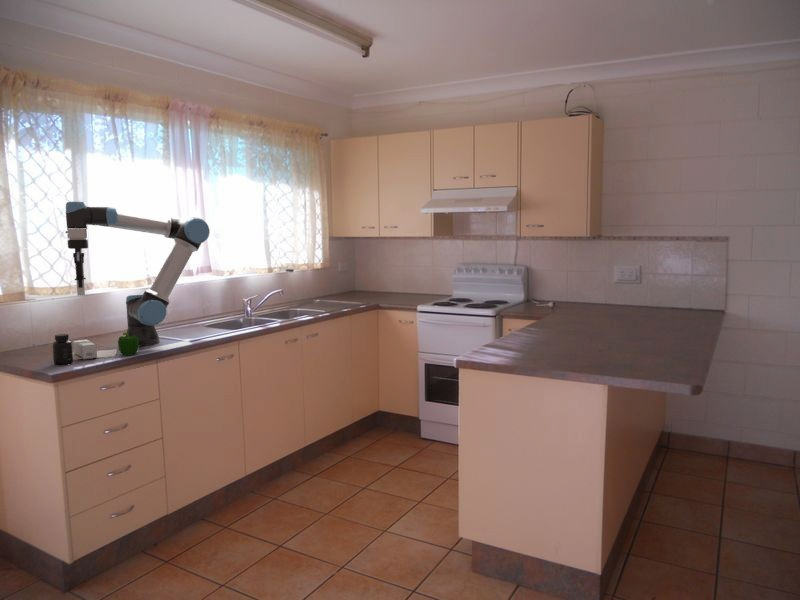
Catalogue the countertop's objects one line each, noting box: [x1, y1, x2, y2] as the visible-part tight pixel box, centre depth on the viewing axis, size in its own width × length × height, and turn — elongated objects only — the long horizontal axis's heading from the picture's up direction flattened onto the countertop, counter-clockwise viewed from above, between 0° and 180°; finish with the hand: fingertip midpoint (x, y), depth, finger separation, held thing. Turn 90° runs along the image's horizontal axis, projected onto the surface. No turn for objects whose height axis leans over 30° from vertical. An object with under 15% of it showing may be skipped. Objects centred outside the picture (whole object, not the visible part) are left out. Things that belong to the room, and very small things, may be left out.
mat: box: [73, 349, 118, 361], centre depth 258 cm, size 18×15×1 cm
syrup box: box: [72, 339, 98, 360], centre depth 254 cm, size 6×6×14 cm
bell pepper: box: [117, 331, 140, 357], centre depth 258 cm, size 8×8×10 cm
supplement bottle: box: [52, 333, 74, 366], centre depth 241 cm, size 7×7×12 cm
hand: (81, 295), depth 254 cm, fingers closed
